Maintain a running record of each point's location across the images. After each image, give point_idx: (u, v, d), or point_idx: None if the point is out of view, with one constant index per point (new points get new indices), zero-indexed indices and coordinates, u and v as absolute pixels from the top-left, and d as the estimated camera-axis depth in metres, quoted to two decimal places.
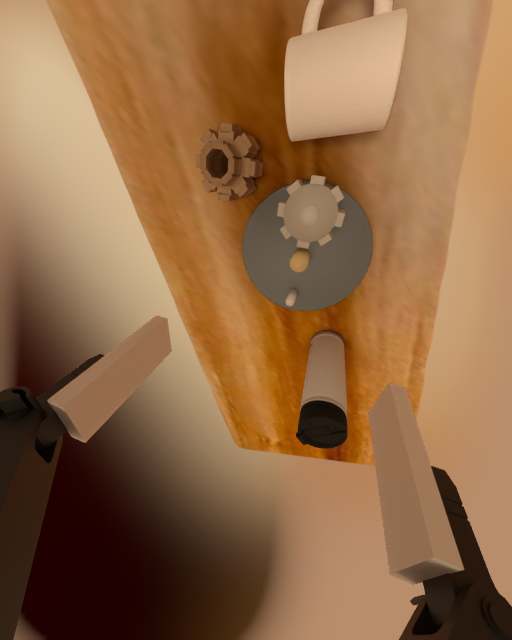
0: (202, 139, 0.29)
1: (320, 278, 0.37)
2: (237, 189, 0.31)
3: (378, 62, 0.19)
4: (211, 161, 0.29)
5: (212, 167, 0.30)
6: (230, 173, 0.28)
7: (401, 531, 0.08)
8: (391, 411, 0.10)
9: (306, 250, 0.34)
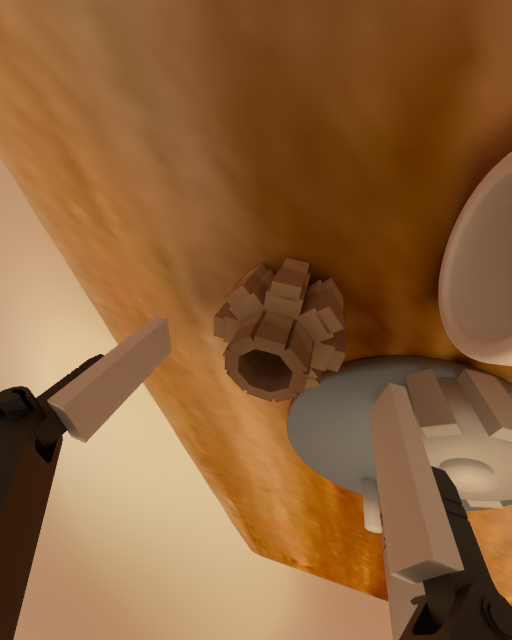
0: (228, 299, 0.14)
1: None
2: None
3: None
4: None
5: None
6: (294, 391, 0.12)
7: (401, 531, 0.08)
8: (391, 411, 0.10)
9: None
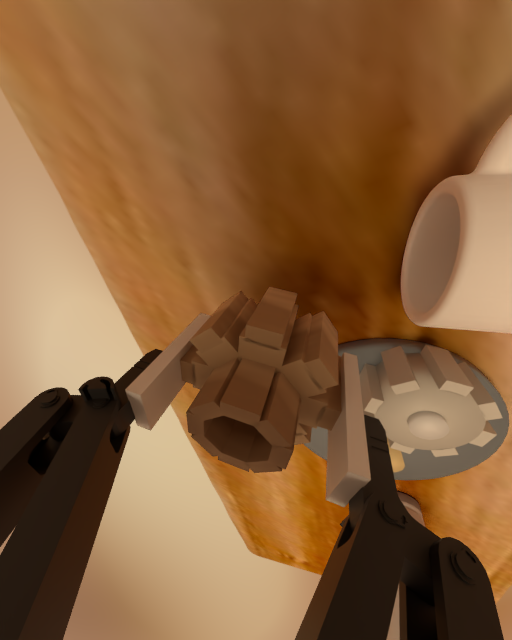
0: (194, 342, 0.11)
1: (405, 452, 0.25)
2: None
3: None
4: None
5: None
6: (275, 464, 0.10)
7: (335, 463, 0.09)
8: (342, 375, 0.12)
9: None
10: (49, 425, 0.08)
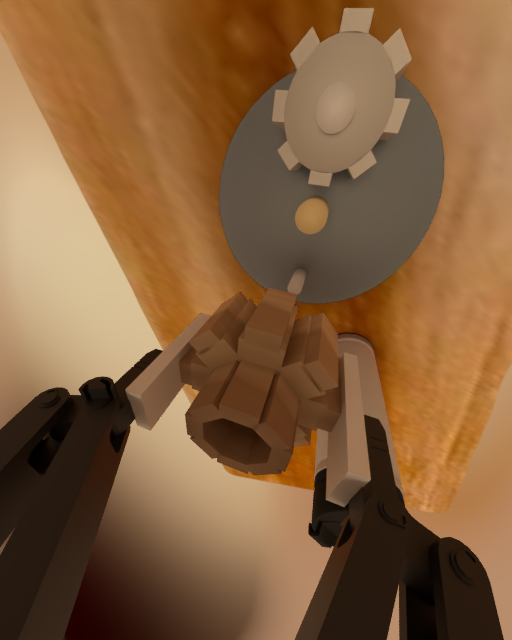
0: (193, 344, 0.11)
1: (344, 249, 0.23)
2: None
3: None
4: None
5: None
6: (274, 467, 0.10)
7: (335, 463, 0.09)
8: (342, 374, 0.12)
9: (323, 199, 0.20)
10: (49, 425, 0.08)
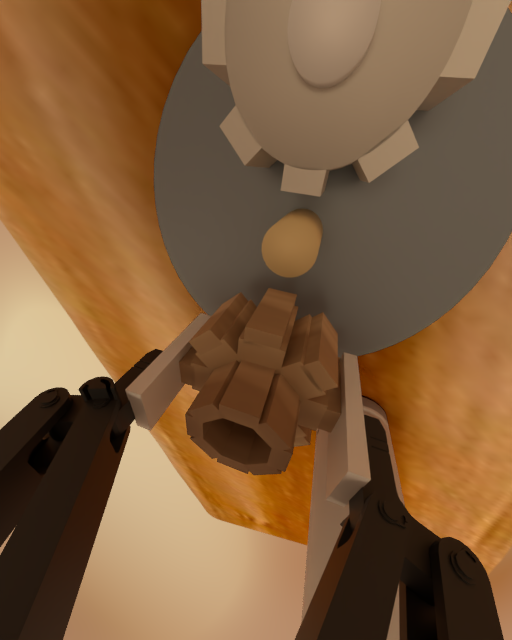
0: (193, 344, 0.11)
1: (348, 291, 0.15)
2: None
3: None
4: None
5: None
6: (274, 467, 0.10)
7: (335, 463, 0.09)
8: (342, 375, 0.12)
9: (312, 214, 0.12)
10: (49, 425, 0.08)
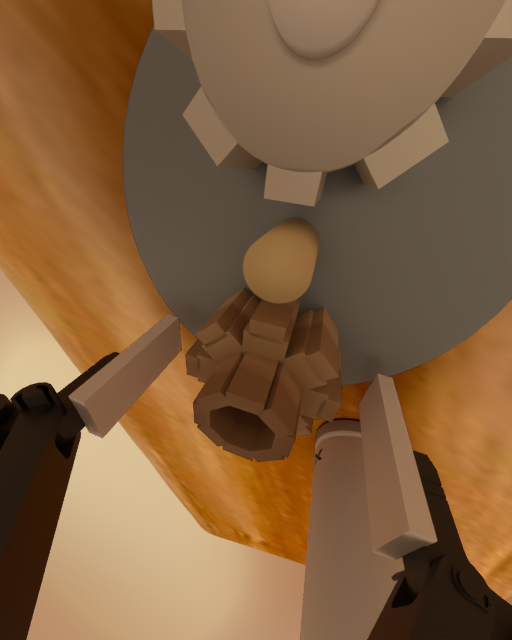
0: (200, 336, 0.11)
1: (349, 312, 0.12)
2: None
3: None
4: None
5: None
6: (278, 453, 0.10)
7: (383, 510, 0.08)
8: (378, 400, 0.11)
9: (307, 225, 0.10)
10: None
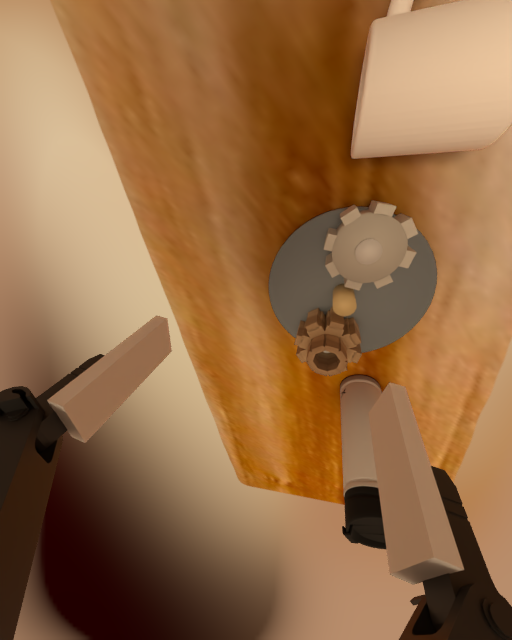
0: (307, 327, 0.29)
1: (363, 319, 0.30)
2: None
3: None
4: None
5: None
6: (339, 370, 0.28)
7: (401, 531, 0.08)
8: (391, 411, 0.10)
9: (351, 288, 0.28)
10: None
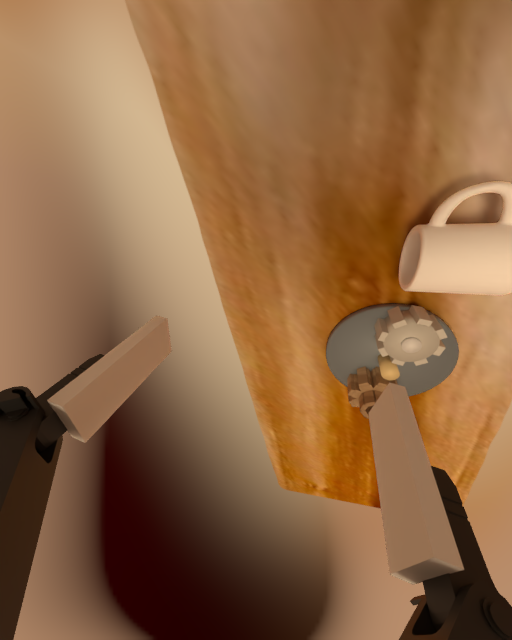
0: (359, 385, 0.39)
1: (400, 376, 0.40)
2: None
3: (511, 271, 0.23)
4: None
5: None
6: None
7: (401, 531, 0.08)
8: (391, 411, 0.10)
9: None
10: None
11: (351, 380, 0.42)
